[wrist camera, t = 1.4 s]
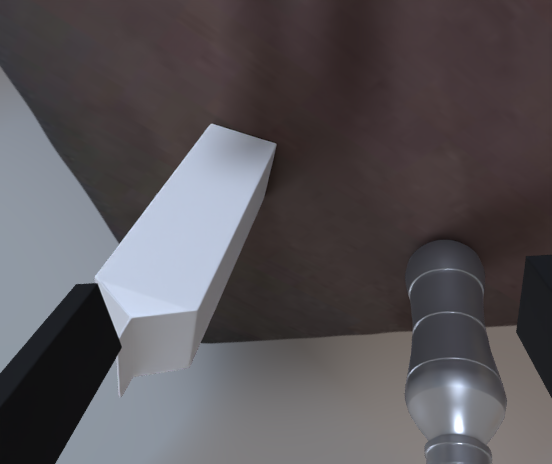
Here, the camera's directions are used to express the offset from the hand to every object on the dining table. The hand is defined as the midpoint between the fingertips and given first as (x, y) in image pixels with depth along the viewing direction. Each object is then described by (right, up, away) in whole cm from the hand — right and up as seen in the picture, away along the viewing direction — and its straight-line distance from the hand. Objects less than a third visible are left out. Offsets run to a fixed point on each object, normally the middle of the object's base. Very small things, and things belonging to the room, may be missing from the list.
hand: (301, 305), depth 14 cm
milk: (-4, +9, +26) cm, 28 cm away
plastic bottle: (+15, 0, +28) cm, 31 cm away
